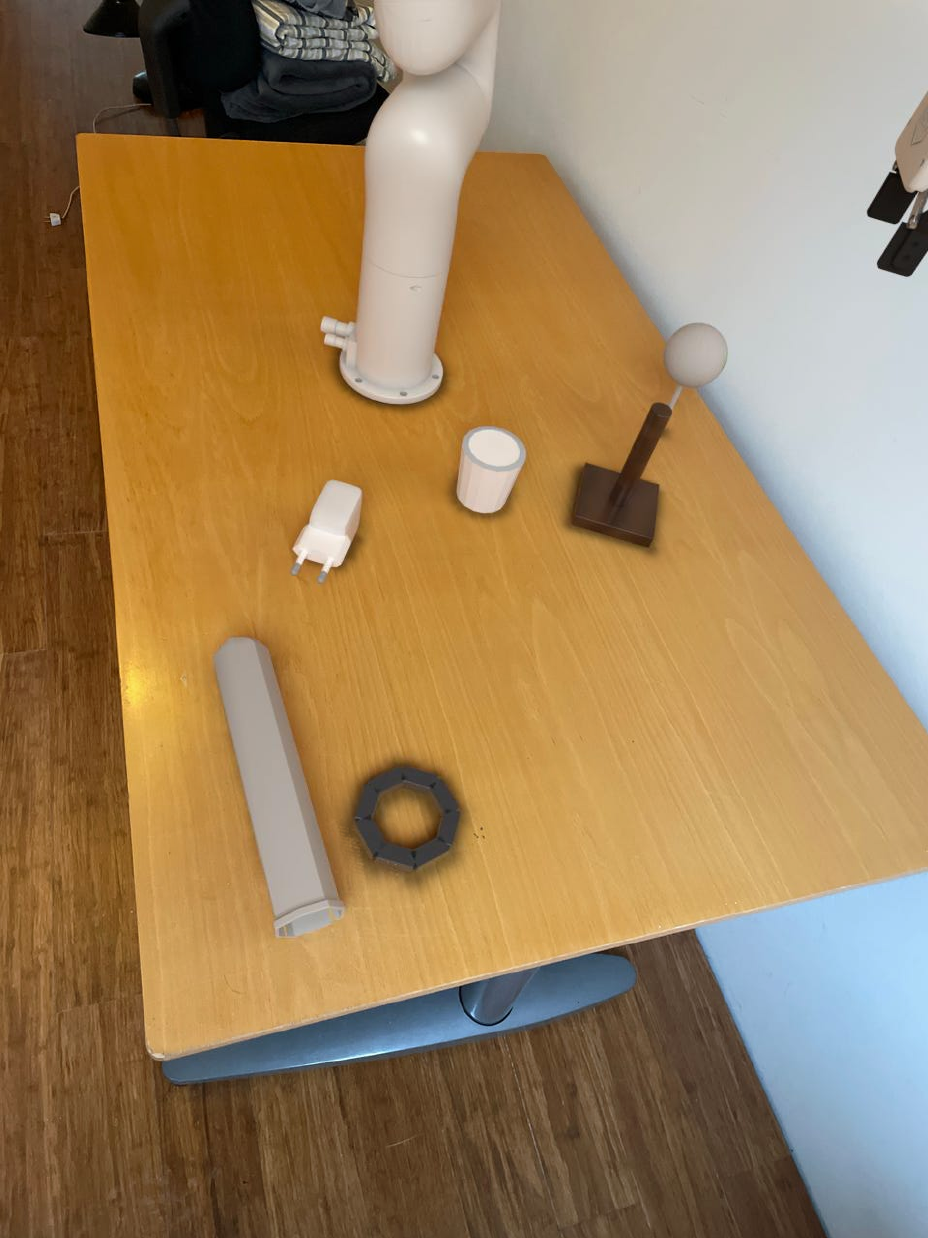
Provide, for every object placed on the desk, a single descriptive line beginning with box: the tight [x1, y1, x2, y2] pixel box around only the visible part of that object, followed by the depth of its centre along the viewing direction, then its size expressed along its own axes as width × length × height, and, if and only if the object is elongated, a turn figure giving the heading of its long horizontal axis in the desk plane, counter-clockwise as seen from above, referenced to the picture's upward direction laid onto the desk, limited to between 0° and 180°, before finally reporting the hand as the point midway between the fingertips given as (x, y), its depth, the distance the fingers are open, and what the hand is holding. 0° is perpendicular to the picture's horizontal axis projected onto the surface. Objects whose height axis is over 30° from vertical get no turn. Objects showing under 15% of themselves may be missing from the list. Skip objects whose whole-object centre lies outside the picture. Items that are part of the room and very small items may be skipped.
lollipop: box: [662, 322, 729, 411], centre depth 97 cm, size 7×7×15 cm
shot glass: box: [455, 425, 527, 514], centre depth 88 cm, size 7×7×7 cm
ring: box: [353, 764, 462, 874], centre depth 66 cm, size 8×8×1 cm
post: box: [571, 401, 673, 549], centre depth 87 cm, size 9×9×14 cm
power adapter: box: [289, 479, 363, 585], centre depth 79 cm, size 11×5×6 cm, turn 166°
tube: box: [212, 636, 346, 939], centre depth 65 cm, size 5×5×25 cm
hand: (886, 244), depth 75 cm, fingers open, 9 cm apart
